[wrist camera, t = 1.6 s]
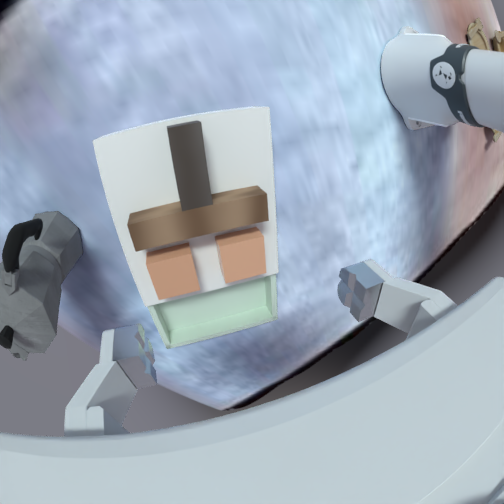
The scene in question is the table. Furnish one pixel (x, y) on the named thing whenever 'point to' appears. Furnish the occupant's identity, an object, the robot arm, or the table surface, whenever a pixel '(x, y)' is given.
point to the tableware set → (485, 47)
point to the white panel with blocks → (165, 189)
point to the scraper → (195, 198)
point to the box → (216, 312)
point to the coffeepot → (35, 280)
